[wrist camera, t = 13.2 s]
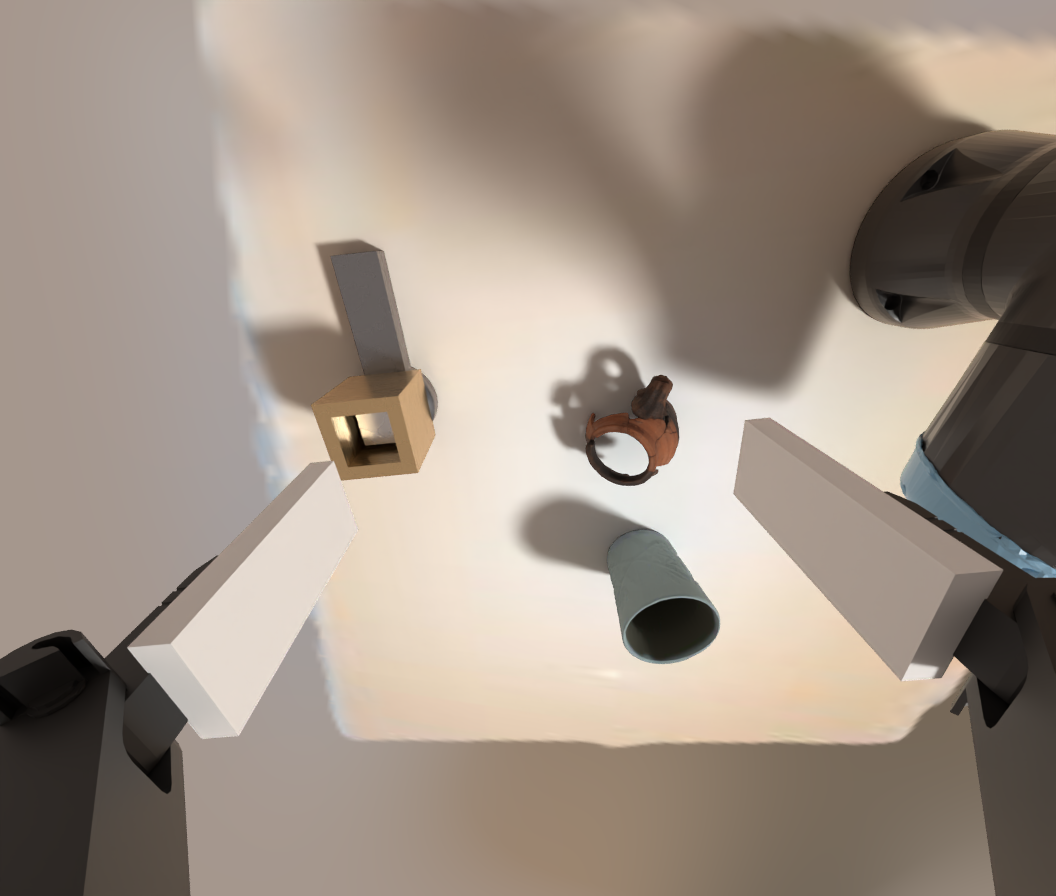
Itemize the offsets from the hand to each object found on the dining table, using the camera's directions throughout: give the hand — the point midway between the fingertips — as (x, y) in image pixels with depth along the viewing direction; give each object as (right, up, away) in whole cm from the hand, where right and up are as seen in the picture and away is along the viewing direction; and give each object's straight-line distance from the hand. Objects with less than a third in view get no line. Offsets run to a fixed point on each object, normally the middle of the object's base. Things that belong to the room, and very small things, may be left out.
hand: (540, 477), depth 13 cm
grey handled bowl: (-15, +11, +26) cm, 32 cm away
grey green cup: (+14, -13, +39) cm, 43 cm away
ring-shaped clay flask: (+11, +4, +30) cm, 33 cm away
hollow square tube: (-14, +5, +27) cm, 31 cm away
